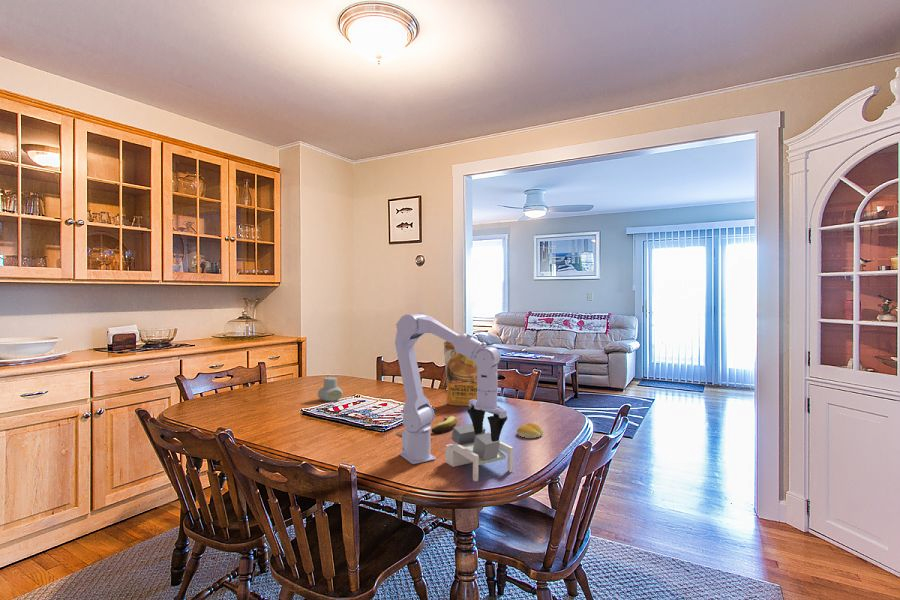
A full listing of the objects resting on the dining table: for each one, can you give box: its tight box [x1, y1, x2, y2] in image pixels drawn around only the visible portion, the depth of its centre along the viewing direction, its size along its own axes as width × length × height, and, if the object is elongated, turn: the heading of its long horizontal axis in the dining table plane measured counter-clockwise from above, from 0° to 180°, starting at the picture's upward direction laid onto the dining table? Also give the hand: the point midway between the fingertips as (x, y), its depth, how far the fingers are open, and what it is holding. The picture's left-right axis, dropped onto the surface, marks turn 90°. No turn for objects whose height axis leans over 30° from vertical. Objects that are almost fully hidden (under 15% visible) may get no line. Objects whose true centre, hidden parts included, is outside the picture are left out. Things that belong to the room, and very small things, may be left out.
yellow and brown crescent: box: [396, 416, 458, 444], centre depth 173 cm, size 35×27×4 cm
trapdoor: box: [451, 423, 507, 466], centre depth 136 cm, size 14×10×4 cm
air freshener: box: [317, 376, 344, 403], centre depth 211 cm, size 11×8×10 cm
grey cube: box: [473, 432, 500, 461], centre depth 132 cm, size 5×5×5 cm
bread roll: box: [516, 422, 544, 439], centre depth 165 cm, size 8×9×4 cm
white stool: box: [445, 440, 514, 482], centre depth 136 cm, size 16×13×7 cm
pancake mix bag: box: [443, 341, 488, 407], centre depth 205 cm, size 7×19×28 cm, turn 81°
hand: (486, 437), depth 132 cm, fingers open, 7 cm apart
